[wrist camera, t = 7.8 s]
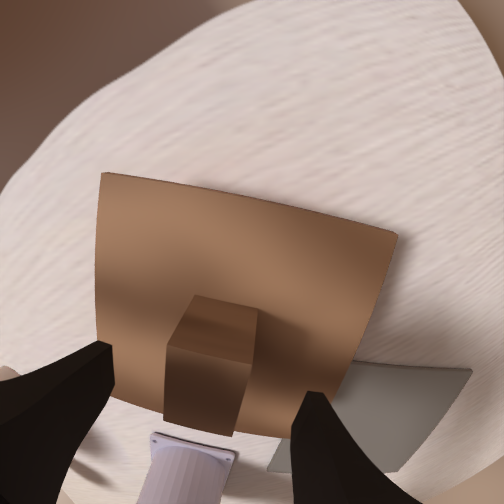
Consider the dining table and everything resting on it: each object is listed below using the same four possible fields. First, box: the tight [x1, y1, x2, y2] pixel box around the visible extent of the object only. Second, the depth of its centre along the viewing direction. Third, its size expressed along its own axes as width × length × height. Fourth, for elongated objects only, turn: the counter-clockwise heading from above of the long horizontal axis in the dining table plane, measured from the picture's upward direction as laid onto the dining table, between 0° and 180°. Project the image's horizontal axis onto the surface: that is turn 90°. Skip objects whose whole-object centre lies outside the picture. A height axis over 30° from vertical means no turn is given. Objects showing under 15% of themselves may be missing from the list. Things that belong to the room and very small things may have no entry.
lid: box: [95, 172, 398, 439], centre depth 12 cm, size 13×13×5 cm
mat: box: [267, 361, 473, 474], centre depth 21 cm, size 15×15×1 cm
